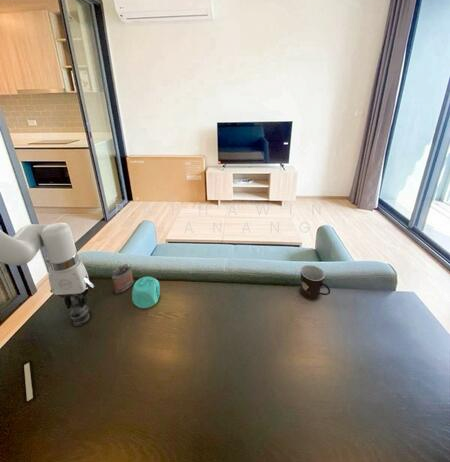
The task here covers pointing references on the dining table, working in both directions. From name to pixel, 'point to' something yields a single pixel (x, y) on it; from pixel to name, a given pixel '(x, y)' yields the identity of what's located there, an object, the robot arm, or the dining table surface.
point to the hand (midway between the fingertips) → (77, 304)
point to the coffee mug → (312, 282)
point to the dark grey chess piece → (78, 311)
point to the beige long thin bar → (28, 382)
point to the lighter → (122, 278)
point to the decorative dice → (146, 292)
